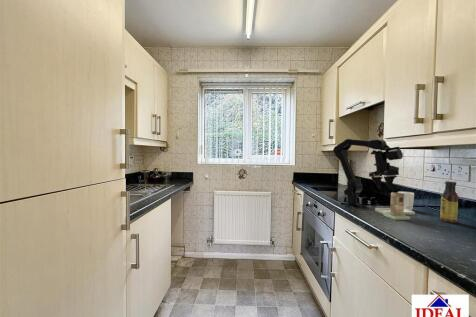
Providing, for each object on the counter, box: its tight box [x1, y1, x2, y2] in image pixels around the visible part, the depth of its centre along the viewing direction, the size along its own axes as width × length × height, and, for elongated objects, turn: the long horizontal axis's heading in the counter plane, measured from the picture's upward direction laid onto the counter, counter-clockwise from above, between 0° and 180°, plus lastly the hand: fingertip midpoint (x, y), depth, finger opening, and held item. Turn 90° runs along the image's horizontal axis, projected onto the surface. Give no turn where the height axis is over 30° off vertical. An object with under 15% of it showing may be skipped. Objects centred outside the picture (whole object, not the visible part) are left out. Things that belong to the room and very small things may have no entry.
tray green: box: [383, 213, 411, 221], centre depth 121 cm, size 8×8×2 cm
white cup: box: [397, 191, 415, 211], centre depth 140 cm, size 8×8×10 cm
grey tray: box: [403, 209, 416, 216], centre depth 132 cm, size 8×8×2 cm
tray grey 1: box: [374, 207, 390, 215], centre depth 131 cm, size 8×8×2 cm
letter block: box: [389, 191, 404, 217], centre depth 121 cm, size 4×4×12 cm
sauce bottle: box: [439, 180, 459, 224], centre depth 116 cm, size 7×6×20 cm
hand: (384, 189), depth 133 cm, fingers open, 9 cm apart
